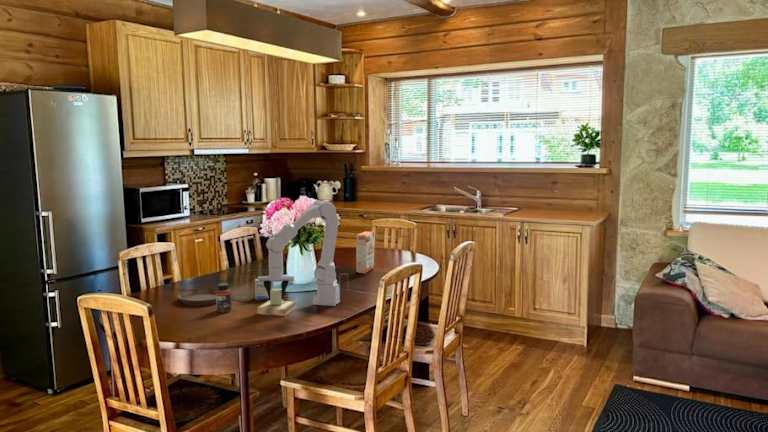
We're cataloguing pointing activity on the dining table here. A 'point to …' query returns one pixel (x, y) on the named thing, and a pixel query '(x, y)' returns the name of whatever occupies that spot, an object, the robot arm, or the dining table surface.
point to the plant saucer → (198, 296)
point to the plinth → (276, 308)
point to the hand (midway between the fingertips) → (276, 298)
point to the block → (276, 297)
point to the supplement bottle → (223, 298)
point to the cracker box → (364, 252)
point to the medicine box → (261, 290)
